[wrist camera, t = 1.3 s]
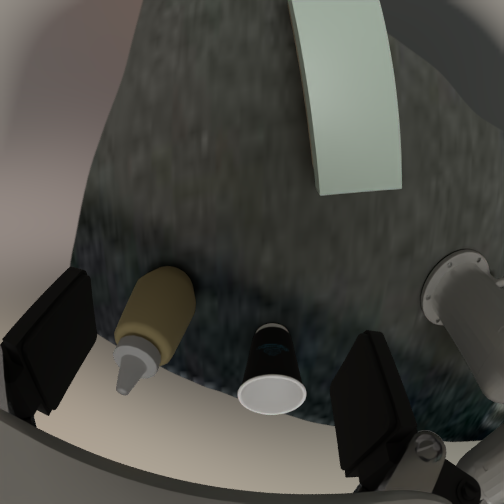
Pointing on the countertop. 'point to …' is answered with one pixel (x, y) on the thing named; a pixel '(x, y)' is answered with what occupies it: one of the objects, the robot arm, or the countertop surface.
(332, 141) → the lid
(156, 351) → the squeeze bottle
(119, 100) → the countertop surface
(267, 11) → the countertop surface
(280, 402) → the dixie cup
